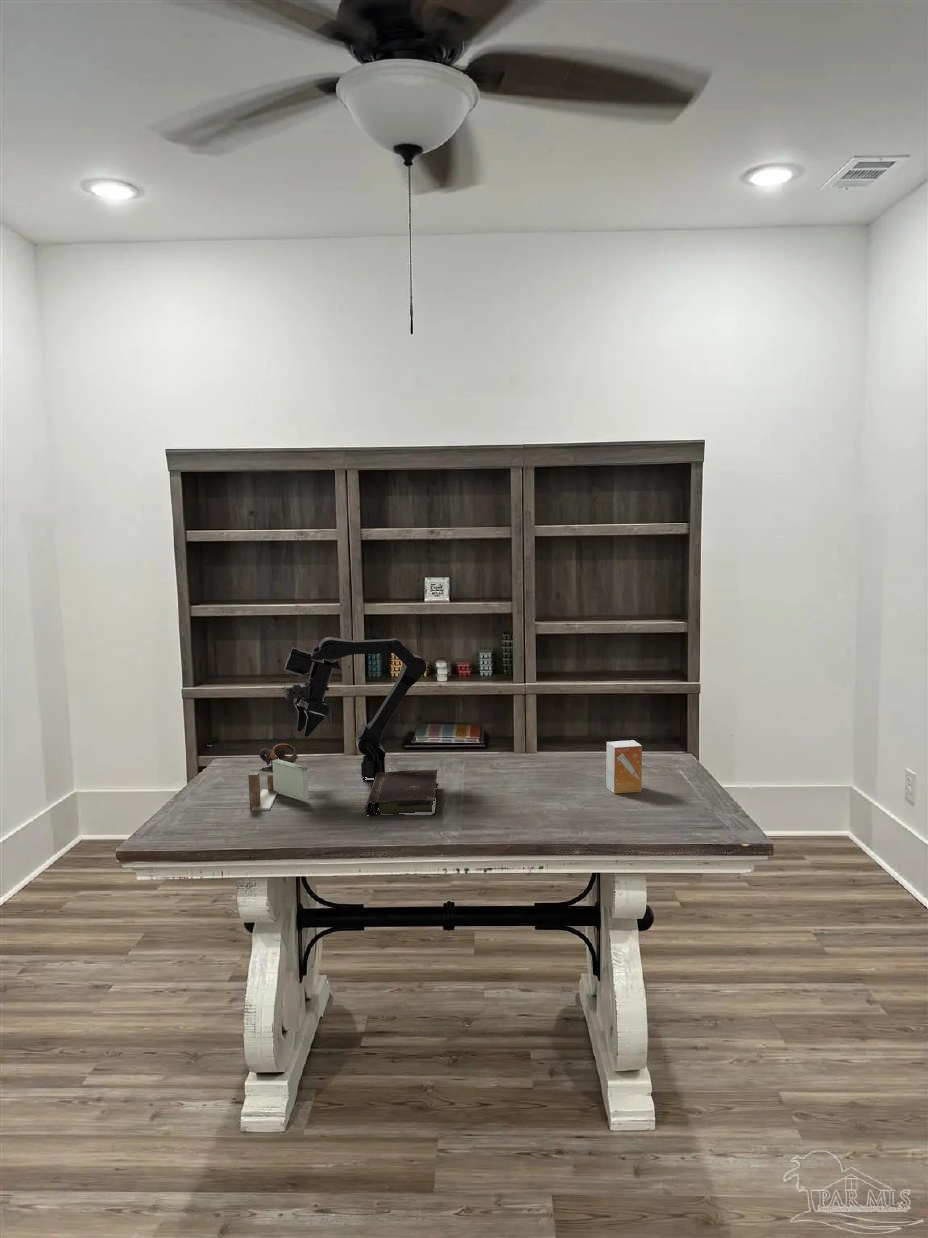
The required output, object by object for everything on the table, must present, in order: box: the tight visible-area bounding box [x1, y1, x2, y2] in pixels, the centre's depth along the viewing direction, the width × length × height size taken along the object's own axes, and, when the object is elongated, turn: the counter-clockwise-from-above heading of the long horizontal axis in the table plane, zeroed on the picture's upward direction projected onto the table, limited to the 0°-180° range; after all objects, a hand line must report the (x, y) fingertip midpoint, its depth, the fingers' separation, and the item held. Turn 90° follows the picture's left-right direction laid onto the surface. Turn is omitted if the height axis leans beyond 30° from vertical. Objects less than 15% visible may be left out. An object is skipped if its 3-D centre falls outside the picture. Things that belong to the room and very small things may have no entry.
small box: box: [605, 739, 643, 795], centre depth 238 cm, size 8×6×13 cm
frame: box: [247, 771, 279, 812], centre depth 235 cm, size 6×17×9 cm, turn 3°
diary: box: [364, 769, 440, 816], centre depth 233 cm, size 19×25×5 cm
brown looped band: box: [258, 743, 299, 766], centre depth 266 cm, size 12×9×8 cm
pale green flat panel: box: [272, 759, 309, 801], centre depth 236 cm, size 13×2×8 cm, turn 48°
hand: (302, 733), depth 245 cm, fingers open, 9 cm apart
